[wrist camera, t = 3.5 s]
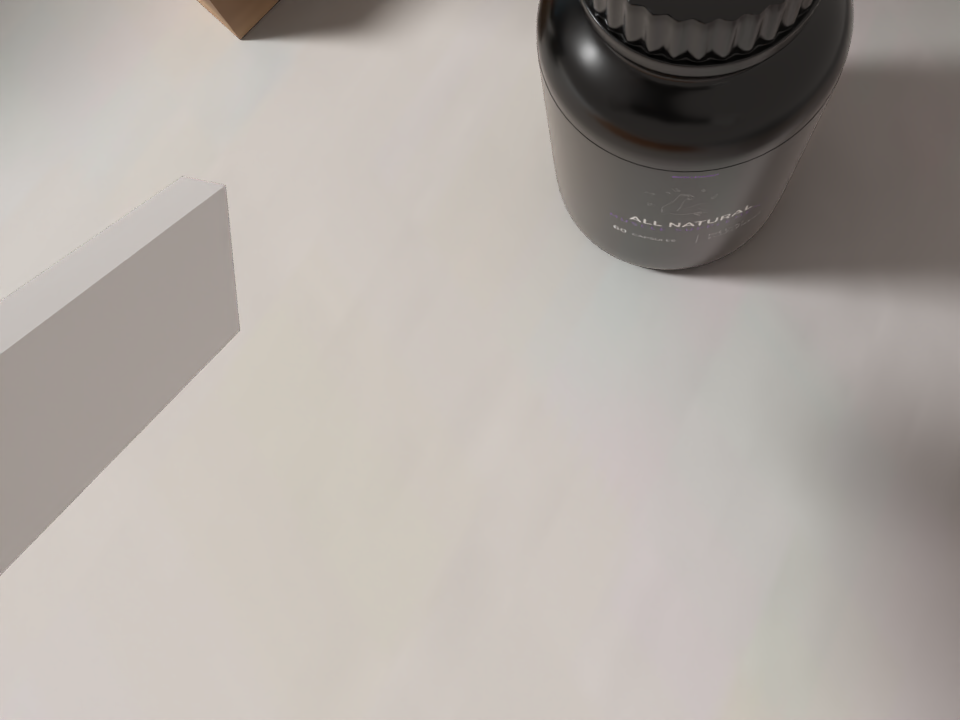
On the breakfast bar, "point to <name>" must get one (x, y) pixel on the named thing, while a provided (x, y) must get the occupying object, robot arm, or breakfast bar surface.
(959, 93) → the breakfast bar surface
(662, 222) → the supplement bottle
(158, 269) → the robot arm
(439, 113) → the breakfast bar surface
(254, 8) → the walnut block
